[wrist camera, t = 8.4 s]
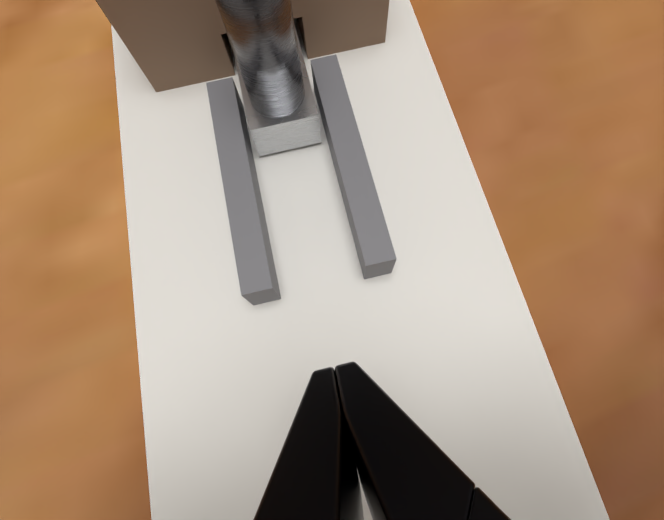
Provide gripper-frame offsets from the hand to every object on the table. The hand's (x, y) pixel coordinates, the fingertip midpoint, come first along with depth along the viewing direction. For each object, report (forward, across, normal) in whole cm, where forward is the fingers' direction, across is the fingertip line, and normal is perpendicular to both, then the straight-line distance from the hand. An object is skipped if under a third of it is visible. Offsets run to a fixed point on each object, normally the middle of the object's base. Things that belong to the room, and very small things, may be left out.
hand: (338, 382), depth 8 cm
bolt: (+17, 0, -6) cm, 18 cm away
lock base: (+13, 0, +1) cm, 13 cm away
